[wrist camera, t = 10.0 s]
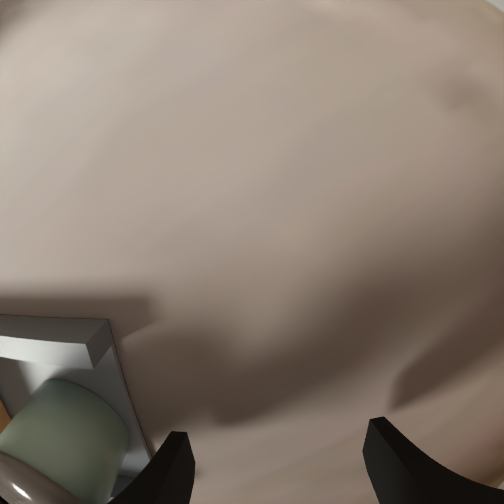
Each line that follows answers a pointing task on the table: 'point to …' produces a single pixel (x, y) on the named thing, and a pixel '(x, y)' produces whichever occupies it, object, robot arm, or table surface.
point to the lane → (69, 372)
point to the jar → (62, 448)
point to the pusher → (3, 417)
